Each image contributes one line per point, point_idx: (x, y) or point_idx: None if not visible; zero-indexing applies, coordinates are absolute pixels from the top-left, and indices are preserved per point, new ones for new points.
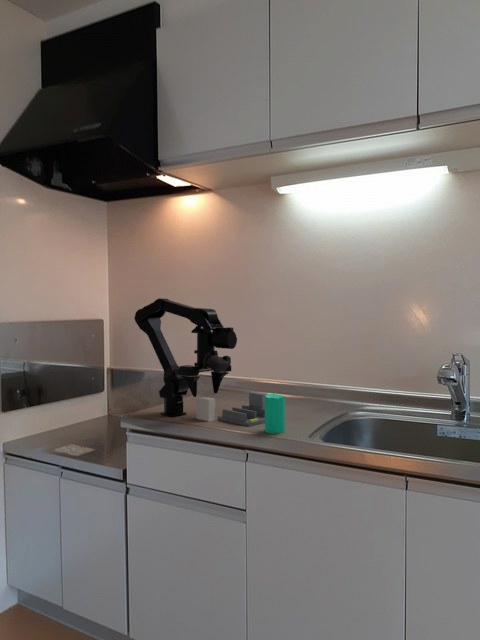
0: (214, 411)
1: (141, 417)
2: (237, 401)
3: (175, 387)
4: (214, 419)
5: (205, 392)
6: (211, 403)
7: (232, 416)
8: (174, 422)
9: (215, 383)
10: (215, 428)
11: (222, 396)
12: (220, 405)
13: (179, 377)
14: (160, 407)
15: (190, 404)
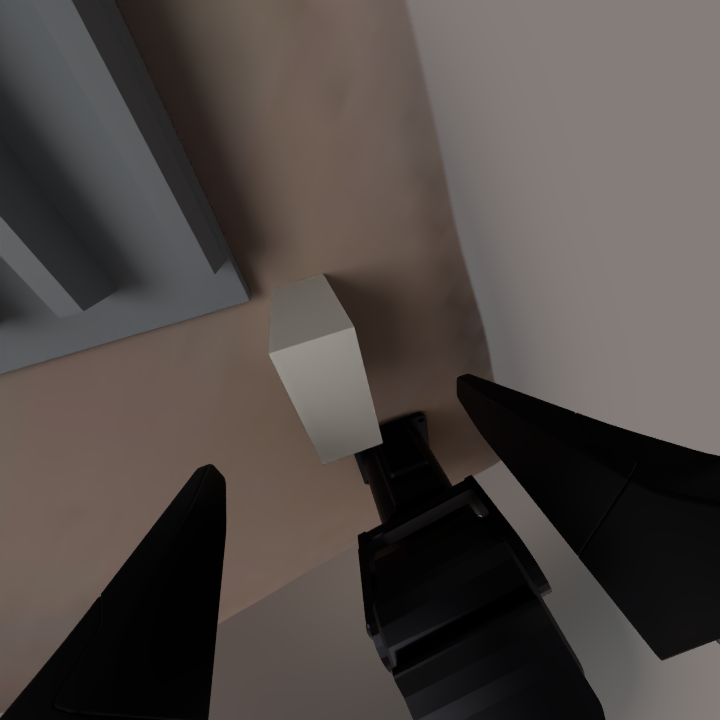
0: (277, 305)
1: None
2: (7, 597)
3: (502, 533)
4: (277, 287)
5: None
6: (315, 320)
7: (150, 121)
8: (465, 331)
9: (187, 595)
10: (383, 24)
11: None
12: (132, 542)
13: (524, 633)
14: (372, 528)
15: (262, 555)
